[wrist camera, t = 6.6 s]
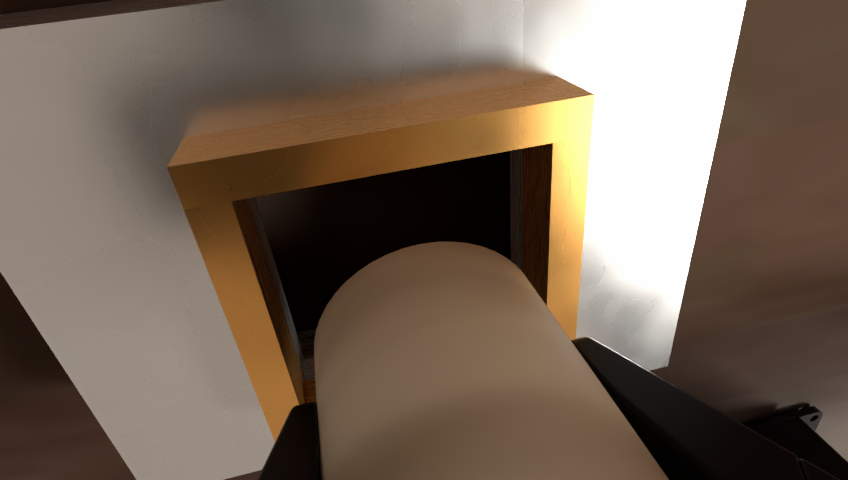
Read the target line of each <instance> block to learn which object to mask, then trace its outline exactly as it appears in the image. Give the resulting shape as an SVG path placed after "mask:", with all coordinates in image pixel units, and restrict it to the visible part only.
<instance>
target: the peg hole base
mask: <svg viewBox="0 0 848 480" xmlns="http://www.w3.org/2000/svg"><path fill="white" fill-rule="evenodd" d="M745 3H746V0H112V1H104V2H96V3H88V4H80V5H72V6H64V7H55V8H47V9H39V10H31V11H23V12H15V13H7V14H0V272H1V274H2V275H3V277H4V278H5V280H6V281H7V283H8V284H9V286H10V287H11V289H12V291H13V292H14V294H15V295H16V297H17V298H18V300H19V301H20V303H21V304H22V306H23V307H24V309H25V310H26V312H27V313H28V315H29V316H30V318H31V320H32V321H33V323H34V324H35V326H36V327H37V329H38V330H39V332H40V333H41V335H42V336H43V338H44V339H45V341H46V342H47V344H48V345H49V347H50V348H51V350H52V352H53V353H54V355H55V356H56V358H57V359H58V361H59V362H60V364H61V365H62V367H63V368H64V370H65V371H66V373H67V374H68V376H69V377H70V379H71V381H72V382H73V384H74V385H75V387H76V388H77V390H78V391H79V393H80V394H81V396H82V397H83V399H84V400H85V402H86V403H87V405H88V406H89V408H90V409H91V411H92V413H93V414H94V416H95V417H96V419H97V420H98V422H99V423H100V425H101V426H102V428H103V429H104V431H105V432H106V434H107V435H108V437H109V438H110V440H111V441H112V443H113V445H114V446H115V448H116V449H117V451H118V452H119V454H120V455H121V457H122V458H123V460H124V461H125V463H126V464H127V466H128V467H129V469H130V470H131V472H132V474H133V475H134V477H135V478H136V480H224V479H228V478H232V477H235V476H239V475H243V474H247V473H251V472H255V471H259V470H262V468H263V466H264V464H265V462H266V460H267V458H268V456H269V454H270V452H271V450H272V448H273V446H274V444H275V441H276V439H277V437H278V435H279V433H280V431H281V429H282V427H283V425H284V423H285V421H286V419H287V416H288V414H289V412H290V410H291V409H292V408H293V407H294V406H296V405H300V404H304V403H309V402H313V401H315V402H316V382H315V362H314V340H315V334H316V329H317V328H315V329H311V330H306V331H302V332H297V333H296V330H295V326H294V323H293V320H292V316H291V313H290V310H289V307H288V303H287V300H286V297H285V293H284V290H283V287H282V284H281V280H280V277H279V274H278V270H277V267H276V264H275V261H274V257H273V254H272V251H271V247H270V244H269V241H268V238H267V234H266V231H265V228H264V224H263V221H262V218H261V215H260V211H259V208H258V205H257V201H256V198H255V197H258V196H264V195H269V194H275V193H280V192H286V191H291V190H297V189H302V188H308V187H313V186H319V185H324V184H330V183H335V182H341V181H346V180H352V179H357V178H363V177H368V176H374V175H379V174H385V173H390V172H396V171H401V170H407V169H412V168H418V167H423V166H429V165H434V164H440V163H445V162H451V161H456V160H462V159H467V158H473V157H478V156H484V155H489V154H495V153H500V152H506V151H510V232H511V262H512V263H514V264H515V265H516V266H517V267H518V268H519V269H520V270H521V271H522V272H523V274H524V275H525V276H526V278H527V279H528V280H529V282H530V283H531V285H532V286H533V287H534V289H535V290H536V292H537V293H538V295H539V296H540V297H541V299H542V300H543V302H544V303H545V304H546V306H547V307H548V309H549V310H550V312H551V313H552V314H553V316H554V317H555V319H556V320H557V322H558V323H559V324H560V326H561V327H562V329H563V330H564V331H565V333H566V334H567V336H568V337H569V339H570V340H572V339H576V338H580V337H590V338H592V339H594V340H596V341H597V342H599V343H601V344H603V345H604V346H606V347H608V348H610V349H611V350H613V351H615V352H617V353H618V354H620V355H622V356H624V357H625V358H627V359H629V360H631V361H632V362H634V363H636V364H638V365H639V366H641V367H643V368H645V369H646V370H648V371H650V370H654V369H658V368H662V367H666V366H668V362H669V358H670V353H671V348H672V344H673V339H674V334H675V330H676V325H677V320H678V316H679V311H680V306H681V302H682V297H683V292H684V288H685V283H686V278H687V274H688V269H689V264H690V260H691V255H692V250H693V246H694V241H695V236H696V232H697V227H698V222H699V218H700V213H701V208H702V204H703V199H704V194H705V190H706V185H707V180H708V176H709V171H710V166H711V162H712V157H713V152H714V148H715V143H716V138H717V134H718V129H719V124H720V120H721V115H722V110H723V106H724V101H725V96H726V92H727V87H728V82H729V78H730V73H731V68H732V64H733V59H734V54H735V50H736V45H737V40H738V36H739V31H740V26H741V22H742V17H743V12H744V8H745Z"/></svg>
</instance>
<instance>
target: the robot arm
mask: <svg viewBox="0 0 848 480" xmlns="http://www.w3.org/2000/svg"><path fill="white" fill-rule="evenodd" d="M571 341H572V343H573V344H574V346H575V347H576V348H577V350H578V351H579V353H580V354H581V356H582V357H583V358H584V360H585V361H586V363H587V364H588V365H589V367H590V368H591V370H592V371H593V373H594V374H595V375H596V377H597V378H598V380H599V381H600V382H601V384H602V385H603V387H604V388H605V390H606V391H607V392H608V394H609V395H610V397H611V398H612V399H613V401H614V402H615V404H616V405H617V407H618V408H619V409H620V411H621V412H622V414H623V415H624V416H625V418H626V419H627V421H628V422H629V424H630V425H631V426H632V428H633V429H634V431H635V432H636V434H637V435H638V436H639V438H640V439H641V441H642V442H643V443H644V445H645V446H646V448H647V449H648V451H649V452H650V453H651V455H652V456H653V458H654V459H655V460H656V462H657V463H658V465H659V466H660V468H661V469H662V470H663V472H664V473H665V475H666V476H667V477H668V479H669V480H848V462H847V461H846V460H845V459H844V458H843V457H842V456H841V455H840V454H839V453H838V452H836V451H835V450H834V449H833V448H832V447H831V446H830V445H829V444H828V443H827V442H826V441H825V440H824V439H822V438H821V437H820V436H819V435H818V434H817V433H816V432H815V430H816V428H817V426H818V424H819V422H820V419H821V417H822V412H821V411H820V410H818V409H817V408H816V407H814V406H811V407H808V408H804V409H800V410H797V411H793V412H790V413H786V414H783V415H779V416H775V417H772V418H768V419H765V420H761V421H758V422H754V423H750V424H747V425H743V424H741V423H739V422H737V421H736V420H734V419H732V418H730V417H729V416H727V415H725V414H723V413H722V412H720V411H718V410H716V409H715V408H713V407H711V406H709V405H708V404H706V403H704V402H702V401H701V400H699V399H697V398H695V397H694V396H692V395H690V394H688V393H687V392H685V391H683V390H681V389H680V388H678V387H676V386H674V385H673V384H671V383H669V382H667V381H666V380H664V379H662V378H660V377H659V376H657V375H655V374H653V373H652V372H650V371H648V370H646V369H645V368H643V367H641V366H639V365H638V364H636V363H634V362H632V361H631V360H629V359H627V358H625V357H624V356H622V355H620V354H618V353H617V352H615V351H613V350H611V349H610V348H608V347H606V346H604V345H603V344H601V343H599V342H597V341H596V340H594V339H592V338H590V337H580V338H576V339H572V340H571ZM257 480H321V470H320V450H319V430H318V412H317V402H315V401H313V402H309V403H304V404H300V405H296V406H294V407H293V408H292V409H291V410H290V412H289V414H288V416H287V419H286V421H285V423H284V425H283V427H282V429H281V431H280V433H279V435H278V437H277V439H276V441H275V444H274V446H273V448H272V450H271V452H270V454H269V456H268V458H267V460H266V462H265V464H264V466H263V468H262V471H261V473H260V475H259V477H258V479H257Z"/></svg>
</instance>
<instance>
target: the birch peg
mask: <svg viewBox="0 0 848 480" xmlns="http://www.w3.org/2000/svg"><path fill="white" fill-rule="evenodd" d="M314 362H315V382H316V402H317V412H318V430H319V450H320V470H321V480H669V479H668V477H667V476H666V475H665V473H664V472H663V470H662V469H661V468H660V466H659V465H658V463H657V462H656V460H655V459H654V458H653V456H652V455H651V453H650V452H649V451H648V449H647V448H646V446H645V445H644V443H643V442H642V441H641V439H640V438H639V436H638V435H637V434H636V432H635V431H634V429H633V428H632V426H631V425H630V424H629V422H628V421H627V419H626V418H625V416H624V415H623V414H622V412H621V411H620V409H619V408H618V407H617V405H616V404H615V402H614V401H613V399H612V398H611V397H610V395H609V394H608V392H607V391H606V390H605V388H604V387H603V385H602V384H601V382H600V381H599V380H598V378H597V377H596V375H595V374H594V373H593V371H592V370H591V368H590V367H589V365H588V364H587V363H586V361H585V360H584V358H583V357H582V356H581V354H580V353H579V351H578V350H577V348H576V347H575V346H574V344H573V343H572V341H571V340H570V339H569V337H568V336H567V334H566V333H565V331H564V330H563V329H562V327H561V326H560V324H559V323H558V322H557V320H556V319H555V317H554V316H553V314H552V313H551V312H550V310H549V309H548V307H547V306H546V304H545V303H544V302H543V300H542V299H541V297H540V296H539V295H538V293H537V292H536V290H535V289H534V287H533V286H532V285H531V283H530V282H529V280H528V279H527V278H526V276H525V275H524V274H523V272H522V271H521V270H520V269H519V268H518V267H517V266H516V265H515V264H514V263H512V262H511V261H510V260H509V259H507V258H506V257H504V256H502V255H501V254H499V253H497V252H495V251H493V250H490V249H487V248H485V247H482V246H478V245H474V244H469V243H462V242H452V241H450V242H431V243H424V244H418V245H414V246H410V247H406V248H403V249H400V250H397V251H395V252H392V253H389V254H387V255H385V256H383V257H381V258H379V259H377V260H375V261H373V262H371V263H370V264H368V265H367V266H365V267H364V268H362V269H361V270H359V271H358V272H357V273H356V274H354V275H353V276H352V277H351V278H350V279H348V280H347V281H346V282H345V283H344V284H343V285H342V286H341V287H340V289H339V290H338V291H337V292H336V293H335V294H334V296H333V297H332V298H331V300H330V301H329V303H328V304H327V306H326V308H325V310H324V312H323V314H322V315H321V317H320V320H319V323H318V326H317V329H316V334H315V340H314Z"/></svg>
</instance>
